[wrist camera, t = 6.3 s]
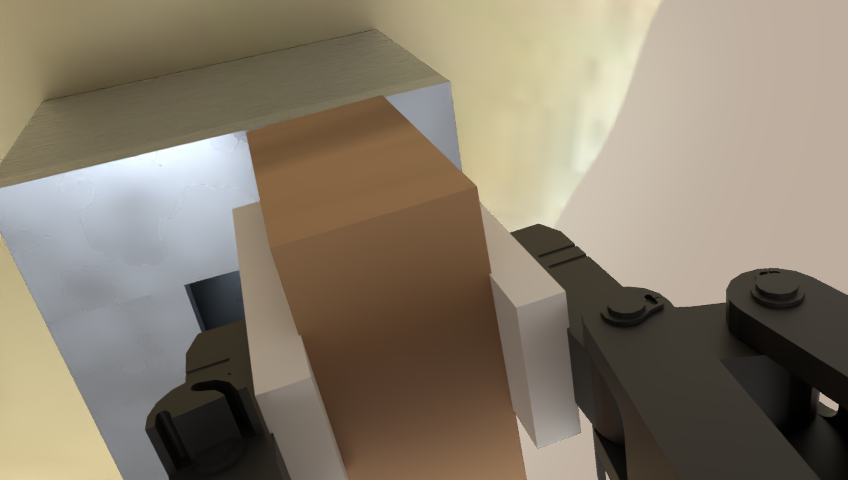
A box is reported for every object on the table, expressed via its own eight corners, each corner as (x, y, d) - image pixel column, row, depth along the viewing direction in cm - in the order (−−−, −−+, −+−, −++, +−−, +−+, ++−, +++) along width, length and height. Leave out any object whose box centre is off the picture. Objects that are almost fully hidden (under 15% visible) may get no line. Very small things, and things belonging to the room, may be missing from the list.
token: (245, 131, 15) (269, 248, 9) (381, 94, 15) (476, 186, 10) (318, 358, 17) (369, 547, 12) (433, 321, 18) (528, 487, 13)
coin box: (42, 101, 28) (-20, 192, 20) (376, 29, 31) (450, 81, 22) (181, 432, 37) (181, 595, 28) (433, 352, 40) (502, 480, 31)
